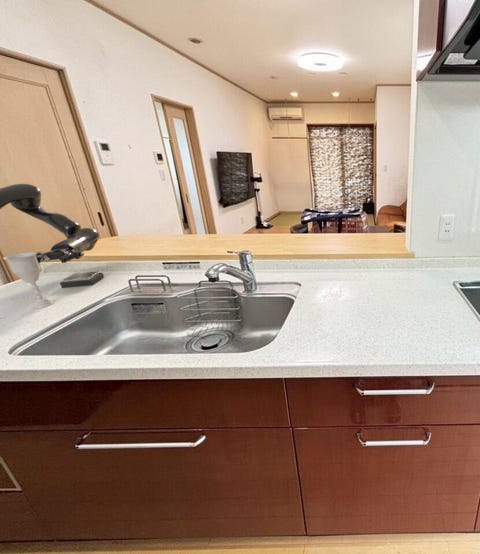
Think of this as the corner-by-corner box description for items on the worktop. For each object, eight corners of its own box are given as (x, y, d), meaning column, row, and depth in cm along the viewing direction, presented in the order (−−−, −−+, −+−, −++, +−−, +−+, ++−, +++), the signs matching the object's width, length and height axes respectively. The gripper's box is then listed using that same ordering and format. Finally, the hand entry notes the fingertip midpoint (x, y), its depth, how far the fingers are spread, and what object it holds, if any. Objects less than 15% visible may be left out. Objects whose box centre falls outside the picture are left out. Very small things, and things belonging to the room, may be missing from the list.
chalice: (58, 298, 107) (37, 251, 100) (58, 304, 102) (36, 255, 96) (28, 305, 102) (4, 255, 95) (27, 311, 98) (1, 260, 91)
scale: (61, 288, 115) (58, 281, 114) (75, 279, 123) (73, 272, 122) (92, 285, 118) (89, 278, 117) (104, 277, 126) (101, 270, 125)
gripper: (42, 242, 117) (16, 254, 103) (87, 238, 122) (68, 249, 108) (50, 260, 120) (25, 274, 106) (94, 256, 125) (75, 268, 111)
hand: (47, 261), depth 107 cm, fingers open, 8 cm apart
